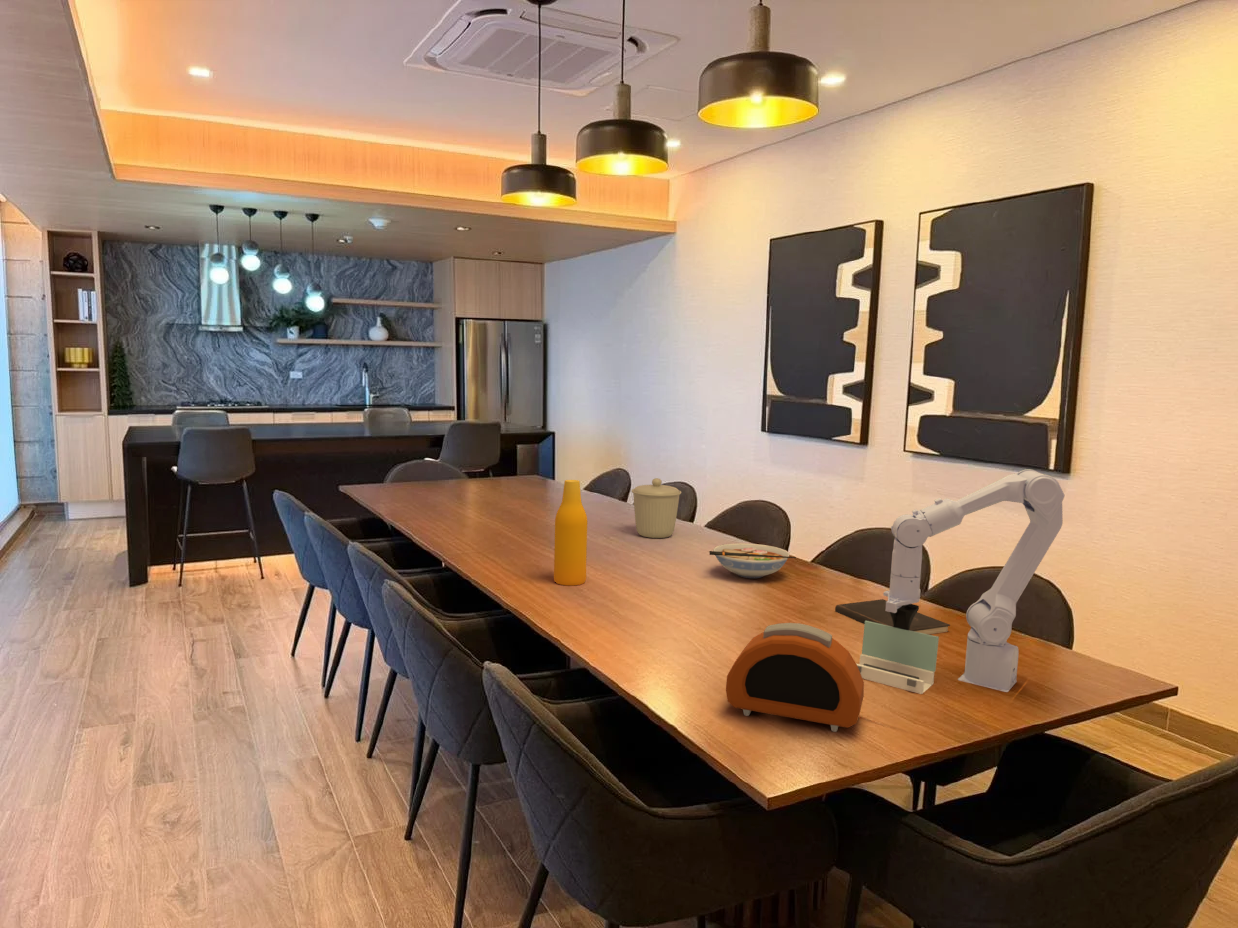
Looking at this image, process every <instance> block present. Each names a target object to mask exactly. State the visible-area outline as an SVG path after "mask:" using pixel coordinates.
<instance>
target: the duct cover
mask: <svg viewBox="0 0 1238 928" xmlns="http://www.w3.org/2000/svg"><path fill="white" fill-rule="evenodd" d="M863 625H864V626H863V637H862V649H861V654H864V655H868V656H872V657H876V658H880V659H884V660H888V661H892V662H896V663H900V664H904V665H908V666H912V667H916V668H920V669H924V670H928V671H932V672H934V673H935V672H936V669H937V660H938V659H937V657H938V652H939V651H938V649H939V641H940V636H938V635H934V634H924V633H919V632H915V631H910V630H904V629H900V628H895V627H892V626H887V625H883V624H878V623H874V622H869V621H865V624H863Z"/></svg>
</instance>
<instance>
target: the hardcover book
mask: <svg viewBox="0 0 1238 928" xmlns="http://www.w3.org/2000/svg"><path fill="white" fill-rule="evenodd" d="M887 601H888V600H886V599H883V598H882V599H874V600H866V601H865V600H864V601H857V602H849V603H841V604H836V605H835V608H834V612H835V613H838V614H840V615H842V616H845V617H847V618H849V619H852V620H853V621H856V622H859V623H861V624H863V625H864V624H865V621H869V622H874V623H878V624H883V625H887V626H892V627H893V620H892V617H891V614H890V612H888V611H885V610H886V602H887ZM950 626H951V624H949V623H947V622H945V621H941V620H939V619H936V618H933V617H931V616H928V615H925V614H923V613H921V612H919V611H917V613H916V614H915V616H914V618H913V620H912V622H911V625H910V629H909V630H910V631H915V632H919V633H924V634H928V635H935V634H941V633H947V632H948V630H949V627H950Z"/></svg>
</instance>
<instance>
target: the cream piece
mask: <svg viewBox="0 0 1238 928" xmlns="http://www.w3.org/2000/svg"><path fill="white" fill-rule="evenodd" d="M864 663H865V664H869V665H873V666H877V667H881V668H885V669H888V670H892V671H896V672H900V673H904V674H908V675H912V676H916V677H919V679H915V678H911V677H907V676H903V675H899V674H895V673H892V672H888V671H884V670H880V669H876V668H872V667H868V666H864V665H863V664H864ZM856 664H857V666H858V669H859V671H860V674H861V676H862V679H863V680H867V681H871V682H875V683H876V684H877V683H878V684H882V685H885V686H889V687H893V688H897V689H901V690H904V691H907V692H912V693H917V694H919V695H923V694H924V693H926V691H928V689H930V688H931V687H932V686H933V685H934V681H935V672H933V671H929V670H925V669H921V668H917V667H913V666H909V665H905V664H901V663H897V662H893V661H888V660H884V659H880V658H876V657H872V656H868V655H864V654H862V653H861V654H859V662H858V663H856Z"/></svg>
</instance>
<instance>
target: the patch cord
mask: <svg viewBox="0 0 1238 928" xmlns="http://www.w3.org/2000/svg"><path fill="white" fill-rule="evenodd" d="M863 665H864V666H868V667H872V668H876V669H880V670H884V671H888V672H892V673H895V674H899V675H903V676H907V677H911V678H915V679H919V677H916V676H912V675H908V674H904V673H900V672H896V671H892V670H888V669H885V668H881V667H877V666H873V665H869V664H865V663H864V664H863Z"/></svg>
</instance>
